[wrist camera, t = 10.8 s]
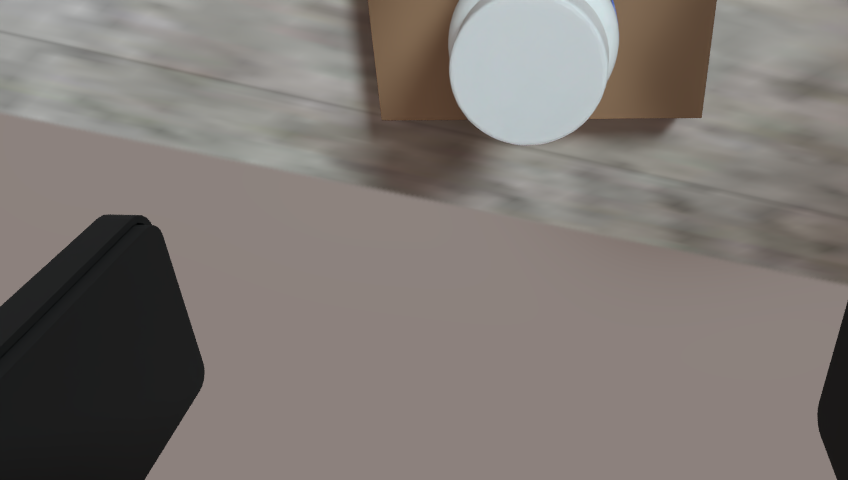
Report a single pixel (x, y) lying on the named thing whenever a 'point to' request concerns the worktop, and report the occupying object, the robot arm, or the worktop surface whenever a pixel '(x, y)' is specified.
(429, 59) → the walnut block
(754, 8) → the worktop surface
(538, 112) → the pill bottle
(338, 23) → the worktop surface
